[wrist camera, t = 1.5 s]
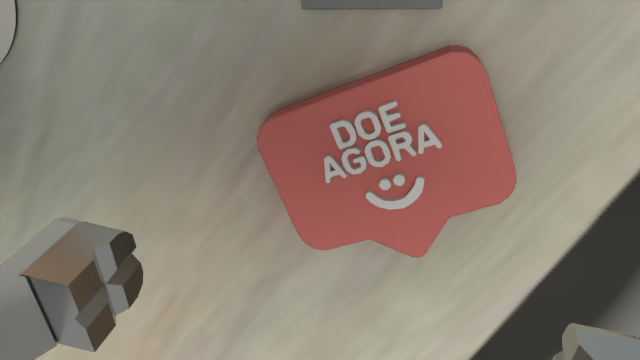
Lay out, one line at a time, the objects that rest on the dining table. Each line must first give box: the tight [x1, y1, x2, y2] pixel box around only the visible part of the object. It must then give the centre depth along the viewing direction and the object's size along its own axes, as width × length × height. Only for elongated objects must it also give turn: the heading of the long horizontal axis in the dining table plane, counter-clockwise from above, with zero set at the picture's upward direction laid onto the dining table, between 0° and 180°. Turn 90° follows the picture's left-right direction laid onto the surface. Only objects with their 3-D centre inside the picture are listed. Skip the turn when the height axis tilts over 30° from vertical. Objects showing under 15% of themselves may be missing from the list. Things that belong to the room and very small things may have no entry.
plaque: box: [257, 46, 516, 257], centre depth 39 cm, size 18×4×15 cm
